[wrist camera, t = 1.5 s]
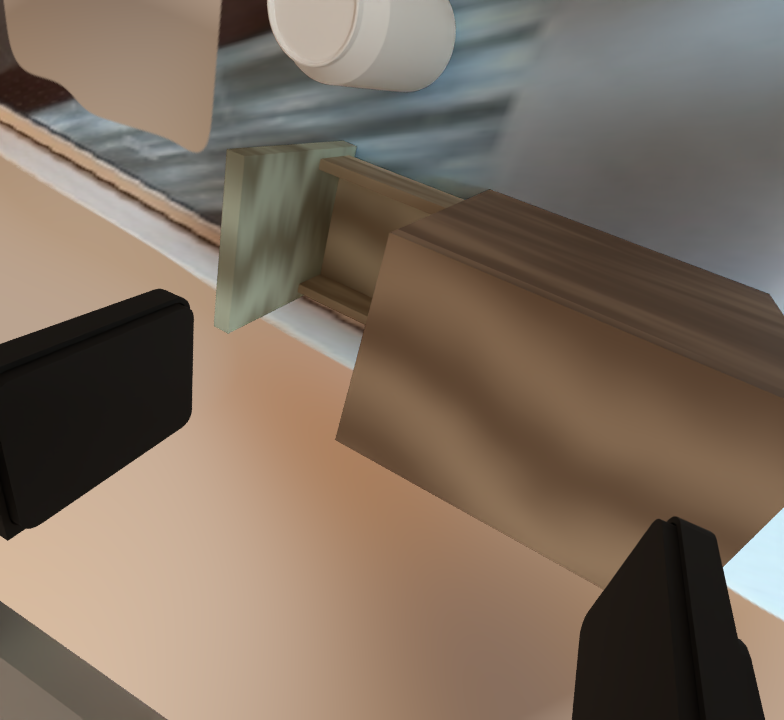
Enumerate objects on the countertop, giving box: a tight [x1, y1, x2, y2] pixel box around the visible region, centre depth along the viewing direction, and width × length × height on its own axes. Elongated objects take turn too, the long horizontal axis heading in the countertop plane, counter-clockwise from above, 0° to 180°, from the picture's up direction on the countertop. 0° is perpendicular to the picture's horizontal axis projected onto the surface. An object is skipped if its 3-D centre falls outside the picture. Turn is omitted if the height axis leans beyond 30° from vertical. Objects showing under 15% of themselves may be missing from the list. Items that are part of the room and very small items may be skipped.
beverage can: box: [267, 0, 456, 92], centre depth 27 cm, size 6×6×12 cm
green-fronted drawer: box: [214, 141, 464, 333], centre depth 32 cm, size 11×20×12 cm, turn 74°
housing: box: [335, 189, 784, 590], centre depth 28 cm, size 12×18×16 cm, turn 74°
